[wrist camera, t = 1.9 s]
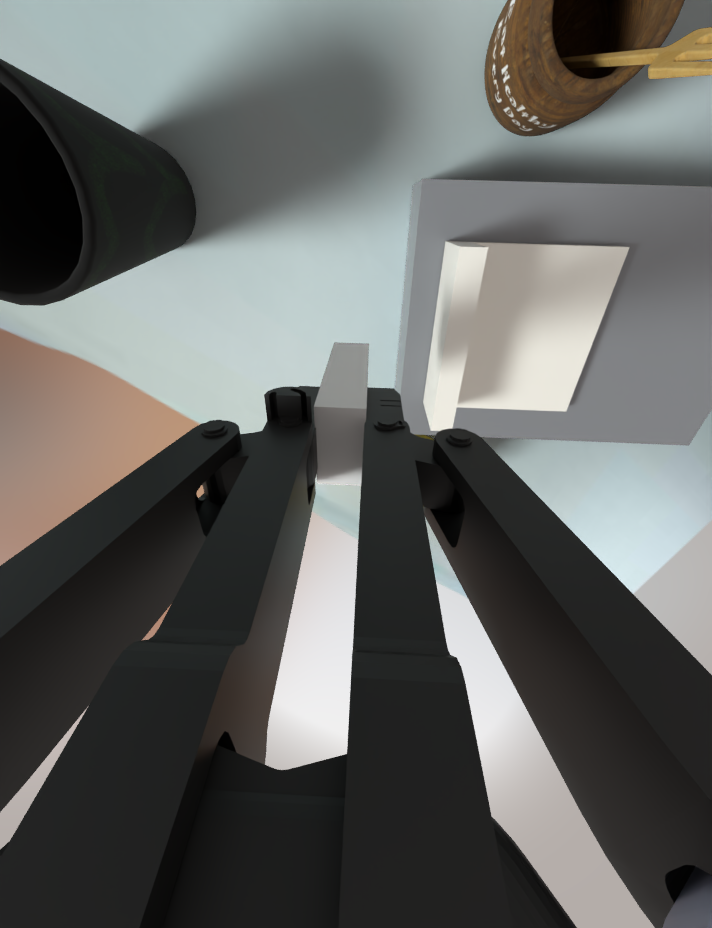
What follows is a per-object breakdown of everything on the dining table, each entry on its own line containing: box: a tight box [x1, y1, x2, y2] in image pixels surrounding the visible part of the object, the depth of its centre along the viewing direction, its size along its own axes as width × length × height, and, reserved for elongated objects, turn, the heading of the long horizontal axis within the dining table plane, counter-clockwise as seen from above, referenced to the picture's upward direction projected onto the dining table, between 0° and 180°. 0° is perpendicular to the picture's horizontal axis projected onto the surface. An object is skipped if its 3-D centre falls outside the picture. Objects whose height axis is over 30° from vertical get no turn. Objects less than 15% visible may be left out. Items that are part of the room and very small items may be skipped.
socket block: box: [395, 179, 712, 445], centre depth 23 cm, size 14×20×5 cm
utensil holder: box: [485, 0, 712, 136], centre depth 14 cm, size 6×6×12 cm
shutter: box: [423, 241, 630, 431], centre depth 20 cm, size 9×9×4 cm
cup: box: [0, 59, 196, 305], centre depth 18 cm, size 8×8×12 cm
